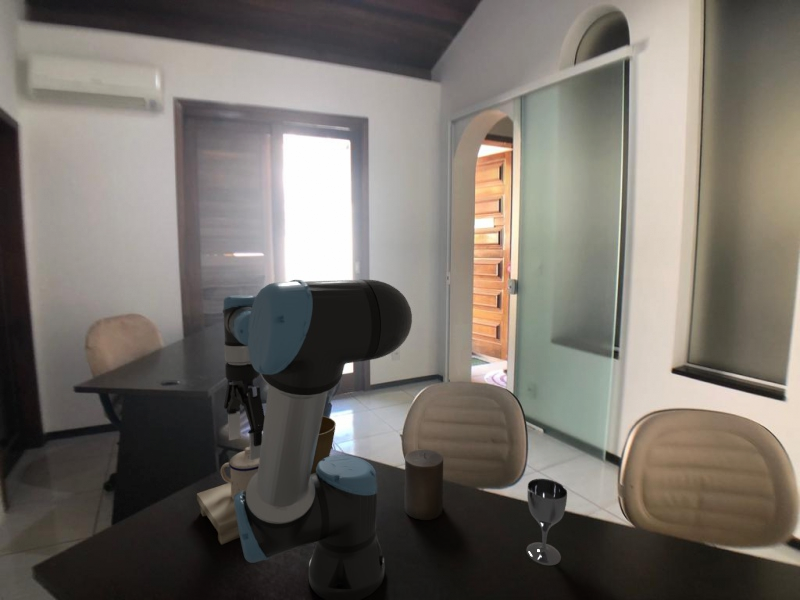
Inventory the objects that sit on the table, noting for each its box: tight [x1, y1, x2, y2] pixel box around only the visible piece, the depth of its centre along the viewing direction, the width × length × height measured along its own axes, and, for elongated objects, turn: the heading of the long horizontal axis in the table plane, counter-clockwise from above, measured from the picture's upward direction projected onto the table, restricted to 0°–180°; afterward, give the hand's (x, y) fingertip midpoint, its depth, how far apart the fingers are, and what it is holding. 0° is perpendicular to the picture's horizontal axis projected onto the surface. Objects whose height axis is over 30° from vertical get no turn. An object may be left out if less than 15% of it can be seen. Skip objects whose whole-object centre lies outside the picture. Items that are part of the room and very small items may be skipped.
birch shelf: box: [196, 482, 240, 545], centre depth 105 cm, size 16×18×5 cm
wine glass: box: [525, 478, 568, 567], centre depth 92 cm, size 8×8×15 cm
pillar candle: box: [404, 448, 444, 521], centre depth 108 cm, size 10×10×15 cm
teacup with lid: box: [220, 446, 260, 500], centre depth 105 cm, size 12×9×12 cm
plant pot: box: [311, 415, 337, 474], centre depth 121 cm, size 15×15×16 cm
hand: (245, 447), depth 103 cm, fingers open, 13 cm apart
